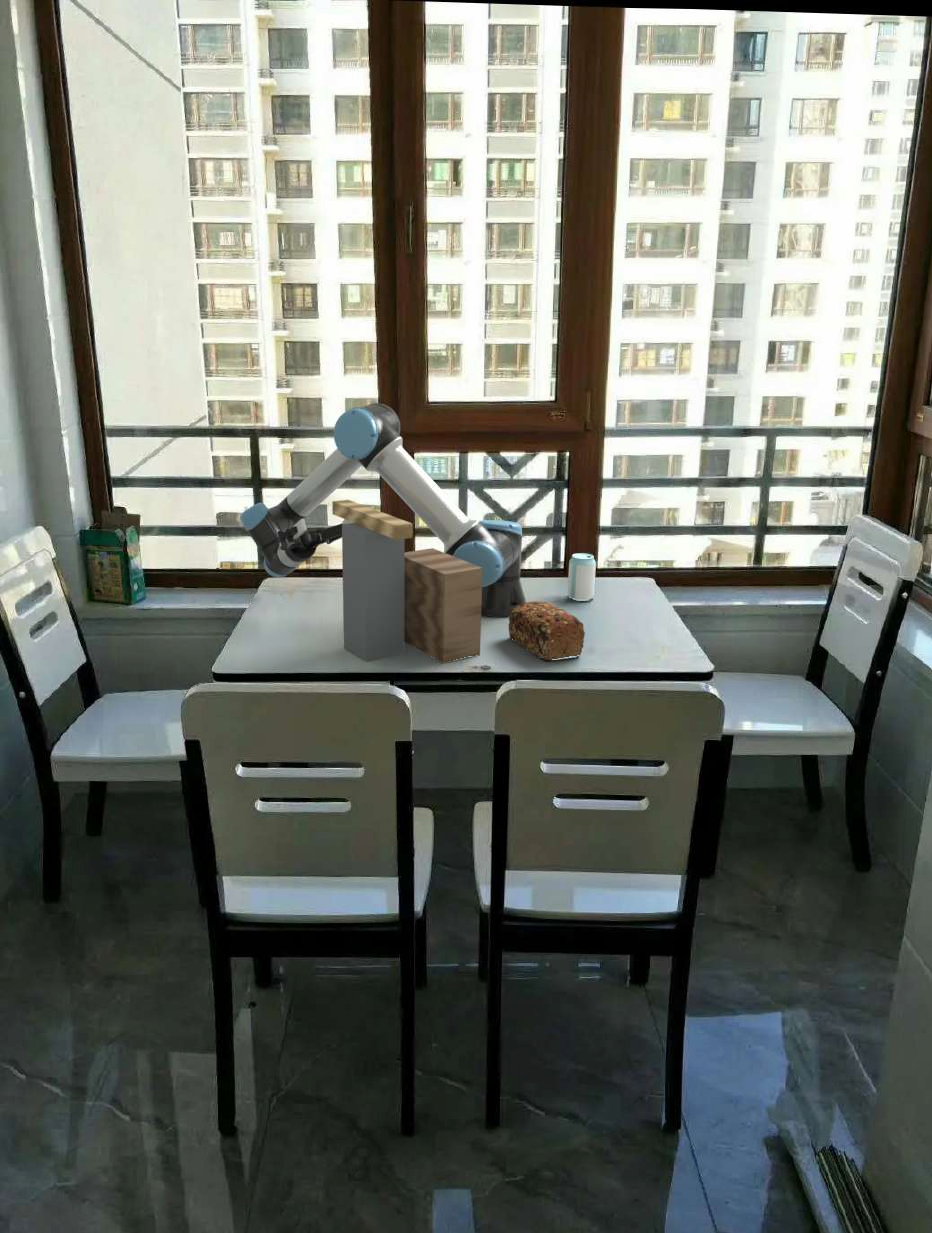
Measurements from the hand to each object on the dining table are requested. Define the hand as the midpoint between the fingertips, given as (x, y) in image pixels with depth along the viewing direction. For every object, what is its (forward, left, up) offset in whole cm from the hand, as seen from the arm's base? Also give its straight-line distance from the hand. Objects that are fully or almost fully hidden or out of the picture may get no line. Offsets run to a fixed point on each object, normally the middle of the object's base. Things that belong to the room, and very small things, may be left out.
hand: (330, 521), depth 234 cm
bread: (-51, +7, -27) cm, 58 cm away
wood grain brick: (-27, +10, -26) cm, 39 cm away
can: (-61, -33, -27) cm, 74 cm away
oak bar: (-12, +14, +3) cm, 19 cm away
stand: (-13, +15, -26) cm, 33 cm away
